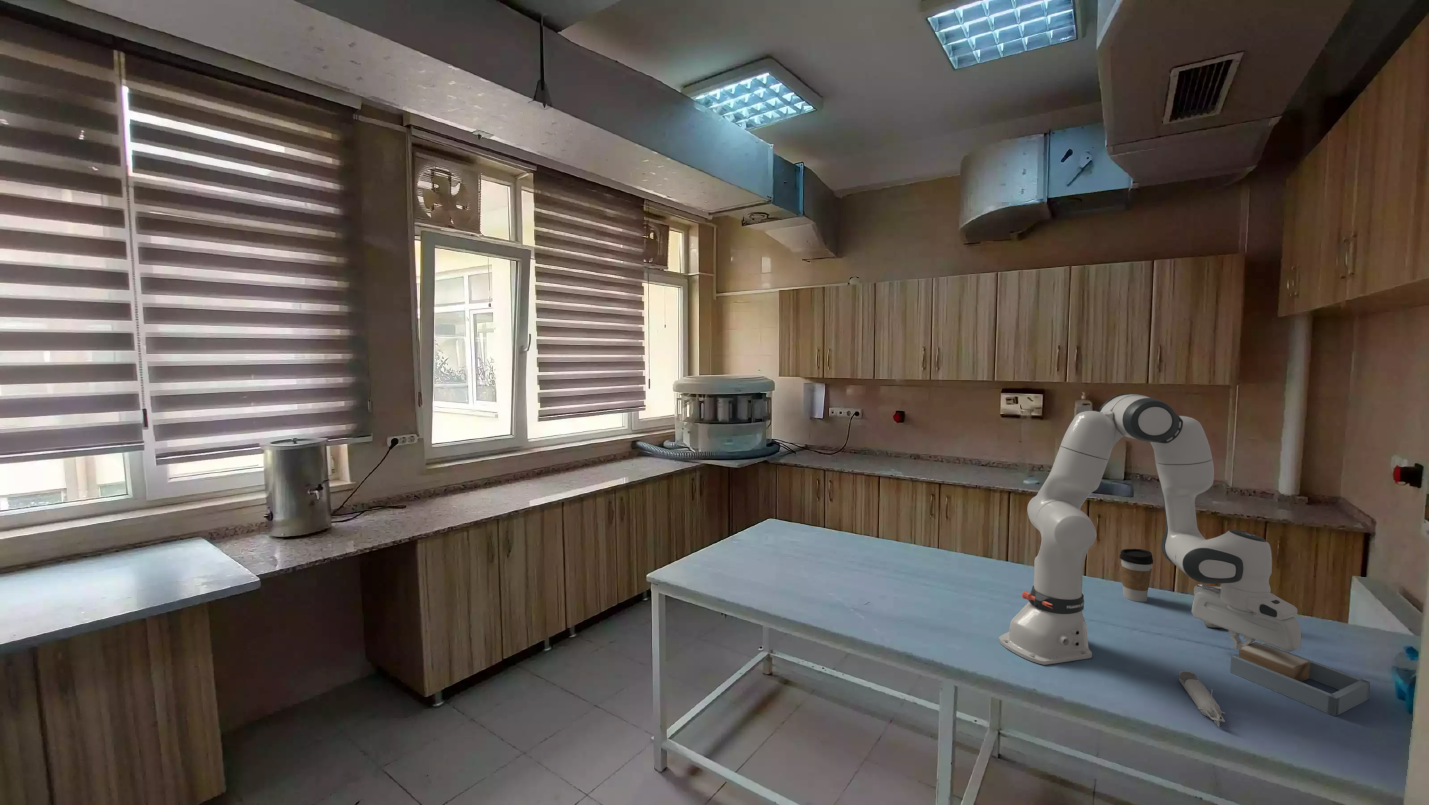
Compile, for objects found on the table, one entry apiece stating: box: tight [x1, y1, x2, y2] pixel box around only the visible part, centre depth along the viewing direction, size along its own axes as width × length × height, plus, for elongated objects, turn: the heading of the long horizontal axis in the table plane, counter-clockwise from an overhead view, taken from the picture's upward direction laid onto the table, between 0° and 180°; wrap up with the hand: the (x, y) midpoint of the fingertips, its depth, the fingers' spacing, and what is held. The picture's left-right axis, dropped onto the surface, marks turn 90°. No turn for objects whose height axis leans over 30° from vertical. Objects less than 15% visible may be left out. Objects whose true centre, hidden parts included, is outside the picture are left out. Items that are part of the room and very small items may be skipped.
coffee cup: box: [1119, 548, 1154, 603], centre depth 173 cm, size 8×8×15 cm
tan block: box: [1238, 641, 1310, 683], centre depth 132 cm, size 7×10×5 cm
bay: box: [1229, 643, 1371, 717], centre depth 128 cm, size 14×18×4 cm
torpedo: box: [1178, 669, 1226, 727], centre depth 122 cm, size 18×5×7 cm, turn 157°
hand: (1241, 650), depth 137 cm, fingers closed
